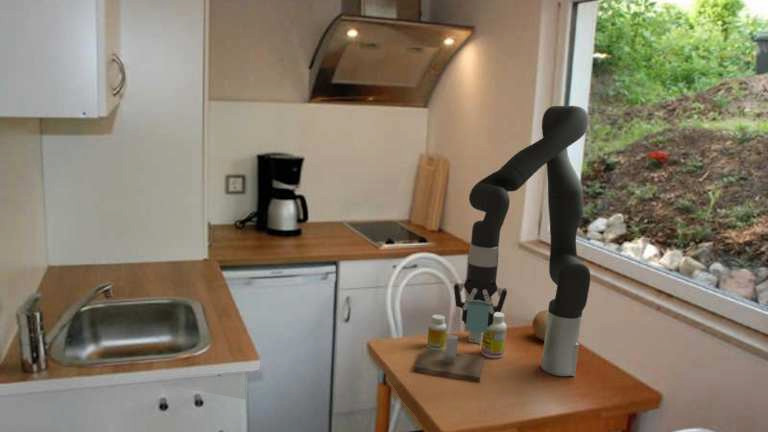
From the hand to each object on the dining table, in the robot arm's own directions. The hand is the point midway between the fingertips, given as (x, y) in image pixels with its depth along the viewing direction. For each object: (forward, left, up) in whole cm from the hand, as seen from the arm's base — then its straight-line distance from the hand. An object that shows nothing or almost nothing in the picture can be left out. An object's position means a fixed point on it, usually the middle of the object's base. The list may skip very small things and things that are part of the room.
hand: (476, 324), depth 169 cm
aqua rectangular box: (0, 0, -1) cm, 1 cm away
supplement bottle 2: (-4, -24, -18) cm, 30 cm away
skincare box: (+1, -34, -18) cm, 38 cm away
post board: (+7, -10, -17) cm, 21 cm away
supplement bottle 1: (+13, -23, -18) cm, 32 cm away
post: (+7, -10, -16) cm, 20 cm away
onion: (-20, -43, -18) cm, 50 cm away
